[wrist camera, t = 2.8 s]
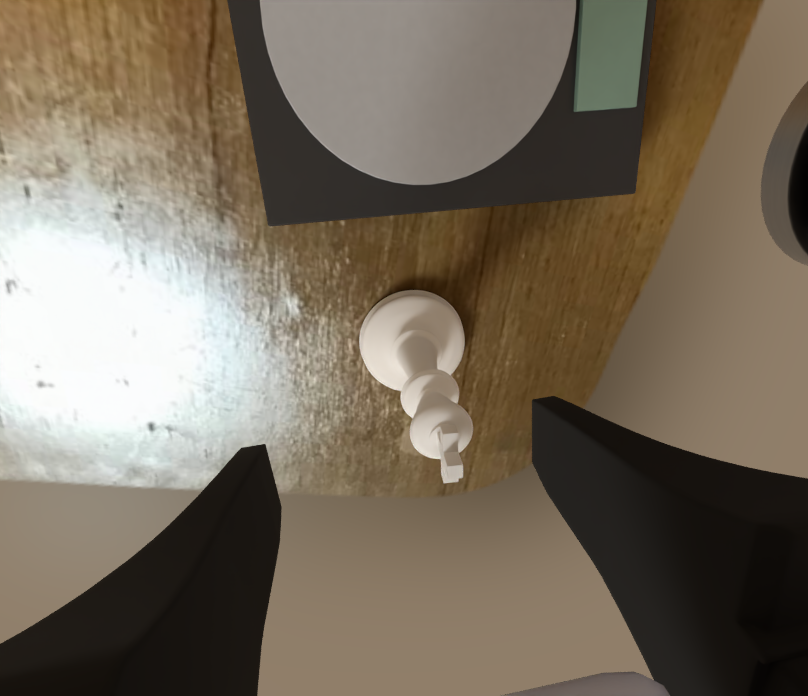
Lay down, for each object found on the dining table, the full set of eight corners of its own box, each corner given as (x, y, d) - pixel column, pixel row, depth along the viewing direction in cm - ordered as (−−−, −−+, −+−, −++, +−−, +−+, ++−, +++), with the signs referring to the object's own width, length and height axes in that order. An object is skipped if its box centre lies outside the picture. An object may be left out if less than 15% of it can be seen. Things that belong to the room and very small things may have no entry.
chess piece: (363, 391, 23) (372, 550, 14) (354, 293, 21) (357, 401, 12) (463, 382, 23) (537, 531, 14) (463, 285, 21) (548, 383, 12)
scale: (635, -186, 16) (696, -259, 13) (603, 189, 20) (643, 194, 18) (210, -173, 15) (178, -247, 12) (277, 218, 19) (266, 228, 17)
